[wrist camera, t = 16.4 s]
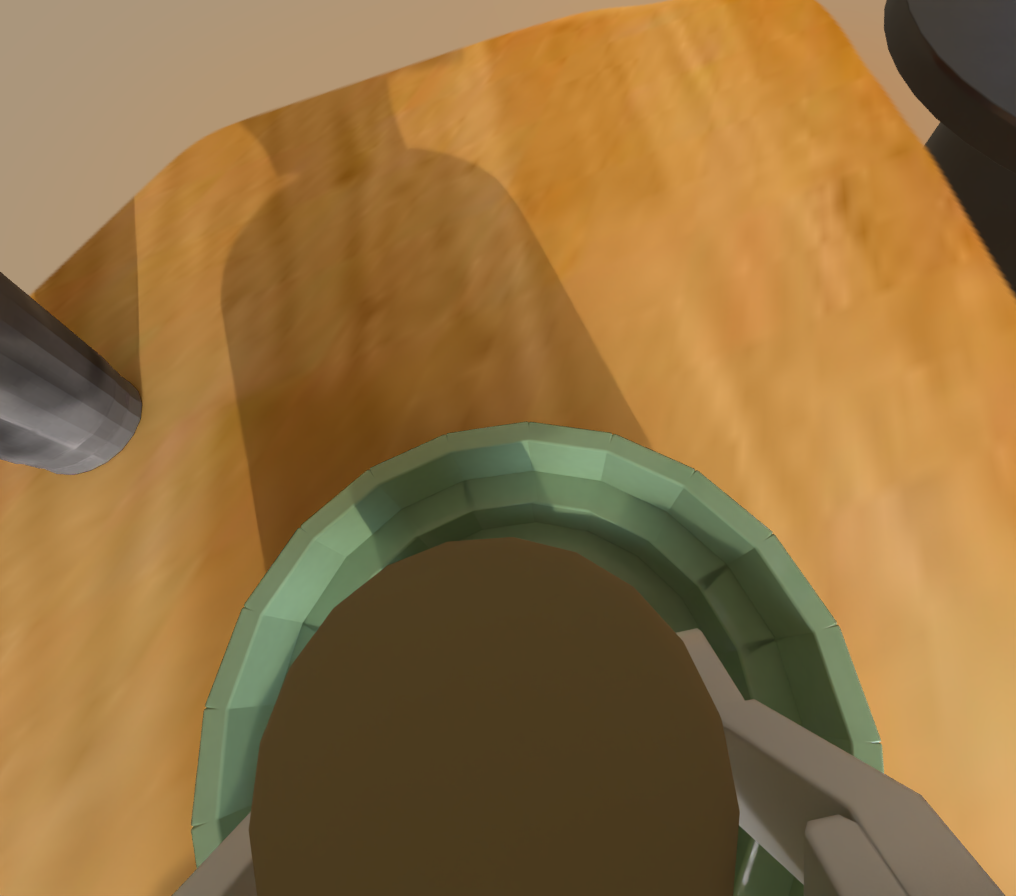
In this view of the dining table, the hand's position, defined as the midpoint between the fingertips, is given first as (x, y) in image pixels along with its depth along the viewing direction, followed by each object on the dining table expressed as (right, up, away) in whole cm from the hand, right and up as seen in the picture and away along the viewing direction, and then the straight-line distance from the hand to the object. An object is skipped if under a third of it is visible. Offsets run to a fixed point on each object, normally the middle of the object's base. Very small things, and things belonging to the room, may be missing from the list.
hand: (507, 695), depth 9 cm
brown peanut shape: (+1, -3, +5) cm, 6 cm away
